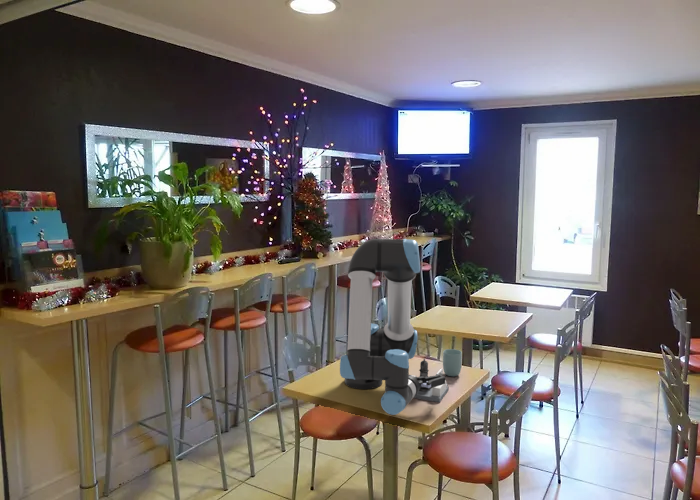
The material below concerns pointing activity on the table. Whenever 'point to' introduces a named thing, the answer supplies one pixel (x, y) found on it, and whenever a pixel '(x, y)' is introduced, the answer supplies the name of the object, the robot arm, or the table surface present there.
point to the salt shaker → (424, 373)
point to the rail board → (429, 395)
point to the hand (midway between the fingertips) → (423, 369)
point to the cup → (452, 362)
